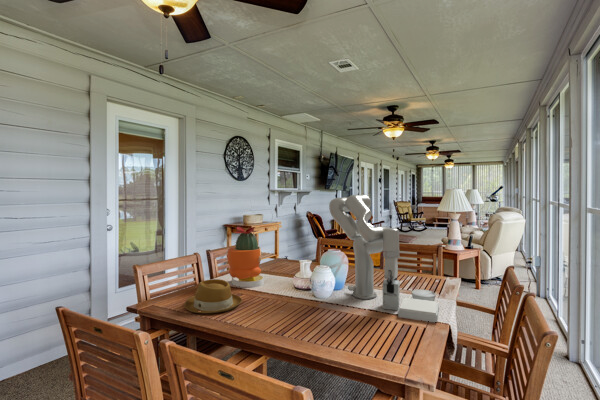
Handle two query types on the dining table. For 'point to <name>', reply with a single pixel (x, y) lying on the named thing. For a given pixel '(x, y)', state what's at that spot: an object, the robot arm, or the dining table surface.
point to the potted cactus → (245, 260)
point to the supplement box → (391, 296)
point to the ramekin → (423, 295)
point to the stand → (419, 309)
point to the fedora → (212, 297)
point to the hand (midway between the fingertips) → (392, 289)
